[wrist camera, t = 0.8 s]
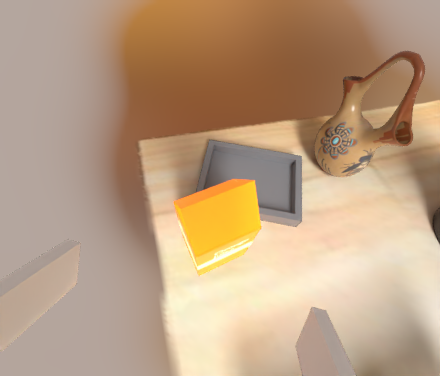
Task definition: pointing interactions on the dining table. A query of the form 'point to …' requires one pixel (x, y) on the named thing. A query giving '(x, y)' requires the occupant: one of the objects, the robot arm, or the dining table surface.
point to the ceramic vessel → (365, 123)
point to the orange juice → (219, 222)
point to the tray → (258, 178)
